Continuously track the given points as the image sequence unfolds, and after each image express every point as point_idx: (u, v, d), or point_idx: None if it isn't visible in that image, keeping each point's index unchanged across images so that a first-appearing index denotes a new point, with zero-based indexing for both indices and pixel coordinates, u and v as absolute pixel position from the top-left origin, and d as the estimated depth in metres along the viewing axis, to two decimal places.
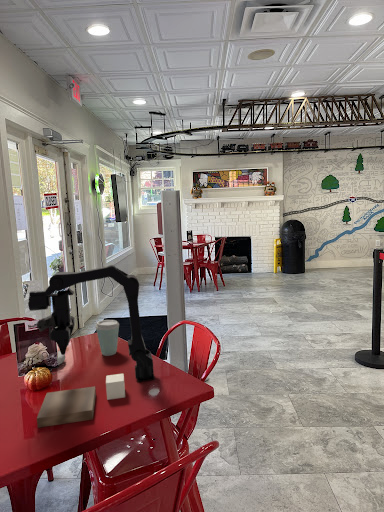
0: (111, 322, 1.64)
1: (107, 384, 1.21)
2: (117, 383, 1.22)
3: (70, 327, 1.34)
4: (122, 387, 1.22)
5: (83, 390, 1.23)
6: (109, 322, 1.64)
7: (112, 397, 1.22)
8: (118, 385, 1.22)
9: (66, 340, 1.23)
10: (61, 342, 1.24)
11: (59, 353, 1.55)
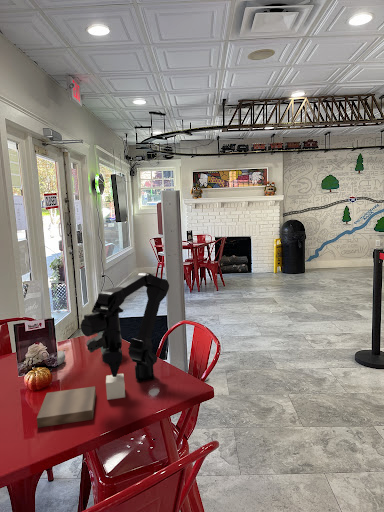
0: None
1: (107, 384, 1.21)
2: (117, 383, 1.22)
3: (118, 346, 1.29)
4: (122, 387, 1.22)
5: (83, 390, 1.23)
6: None
7: (112, 397, 1.22)
8: (118, 385, 1.22)
9: (118, 362, 1.18)
10: (113, 364, 1.18)
11: (59, 353, 1.55)
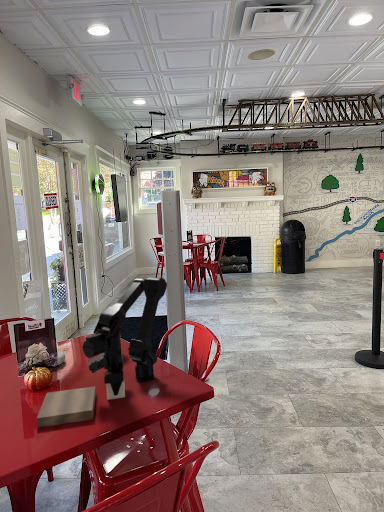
0: None
1: (107, 384, 1.21)
2: None
3: (119, 367, 1.28)
4: (122, 387, 1.22)
5: (83, 390, 1.23)
6: None
7: (112, 397, 1.22)
8: None
9: None
10: (114, 383, 1.20)
11: (59, 353, 1.55)
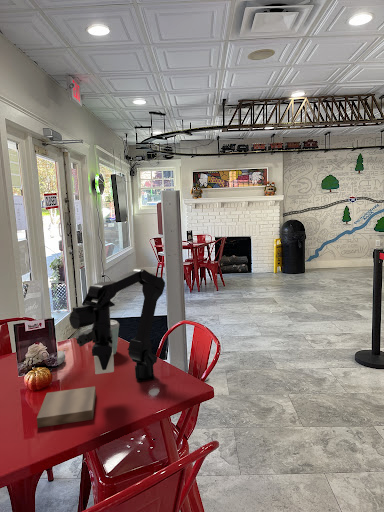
0: (111, 322, 1.64)
1: (95, 358, 1.18)
2: None
3: None
4: (111, 361, 1.19)
5: (83, 390, 1.23)
6: None
7: (100, 371, 1.19)
8: None
9: (108, 355, 1.17)
10: (102, 357, 1.17)
11: (59, 353, 1.55)
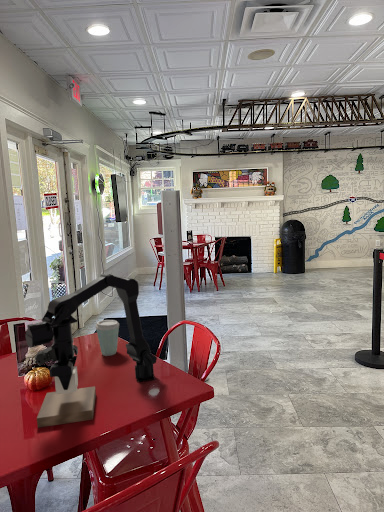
0: (111, 322, 1.64)
1: (56, 377, 1.12)
2: None
3: (72, 360, 1.19)
4: (73, 380, 1.13)
5: (83, 390, 1.23)
6: (109, 322, 1.64)
7: (62, 391, 1.12)
8: None
9: (69, 374, 1.10)
10: (63, 377, 1.11)
11: None
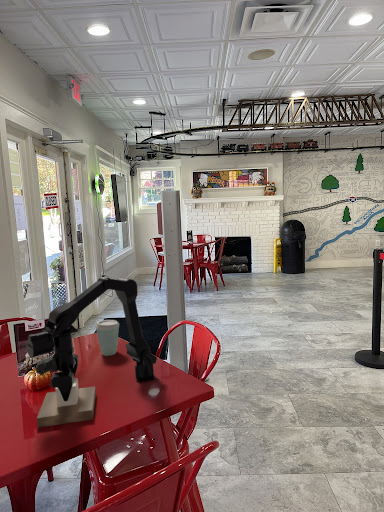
0: (111, 322, 1.64)
1: (57, 390, 1.12)
2: None
3: (73, 368, 1.20)
4: (74, 393, 1.13)
5: (83, 390, 1.23)
6: (109, 322, 1.64)
7: (63, 404, 1.13)
8: None
9: (69, 386, 1.10)
10: (63, 388, 1.10)
11: None
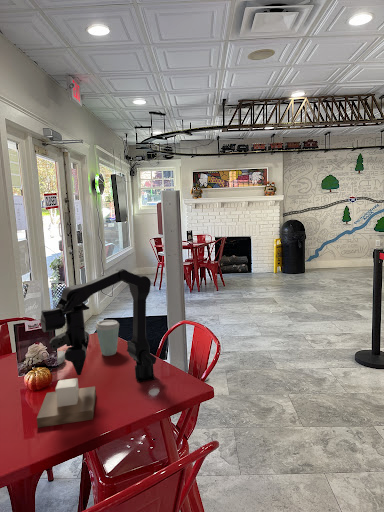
0: (111, 322, 1.64)
1: (57, 390, 1.12)
2: (68, 389, 1.13)
3: (84, 344, 1.26)
4: (74, 393, 1.13)
5: (83, 390, 1.23)
6: (109, 322, 1.64)
7: (63, 404, 1.13)
8: (69, 391, 1.13)
9: (82, 360, 1.15)
10: (76, 362, 1.15)
11: (59, 353, 1.55)
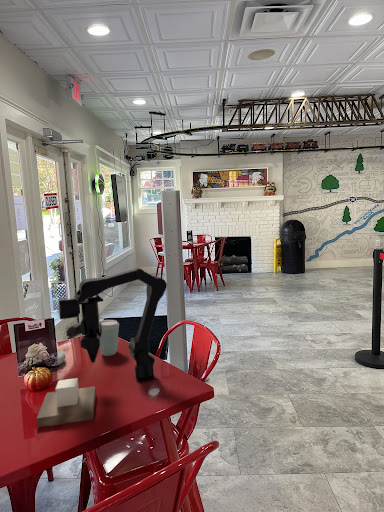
0: (111, 322, 1.64)
1: (57, 390, 1.12)
2: (68, 389, 1.13)
3: (98, 334, 1.33)
4: (74, 393, 1.13)
5: (83, 390, 1.23)
6: (109, 322, 1.64)
7: (63, 404, 1.13)
8: (69, 391, 1.13)
9: (96, 348, 1.22)
10: (91, 350, 1.22)
11: (59, 353, 1.55)
